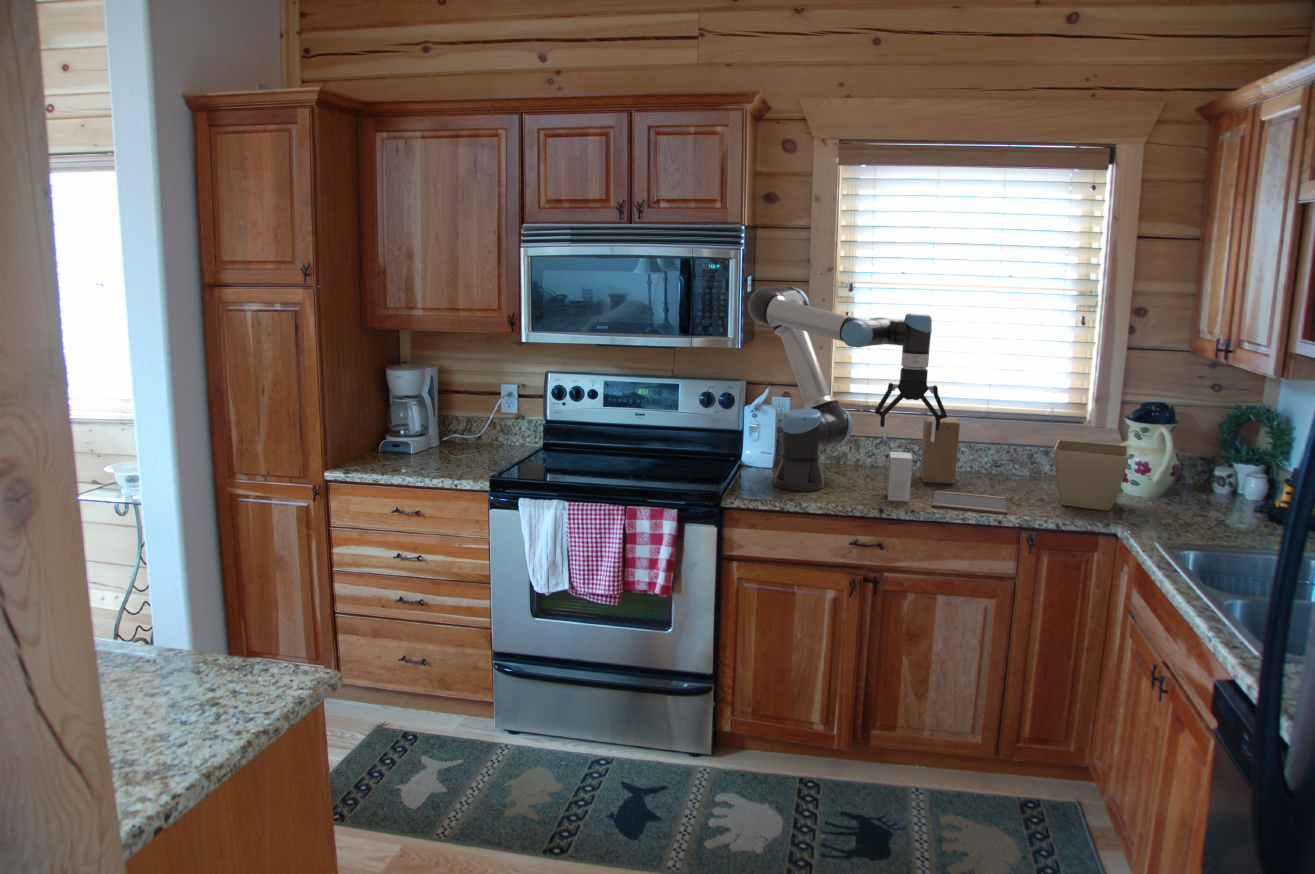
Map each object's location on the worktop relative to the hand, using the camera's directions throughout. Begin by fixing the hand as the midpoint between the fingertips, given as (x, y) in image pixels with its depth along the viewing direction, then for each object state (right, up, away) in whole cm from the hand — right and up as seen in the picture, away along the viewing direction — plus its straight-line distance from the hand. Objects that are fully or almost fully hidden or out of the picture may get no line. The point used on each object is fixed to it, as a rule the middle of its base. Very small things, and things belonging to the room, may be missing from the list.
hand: (908, 439), depth 261 cm
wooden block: (+16, -13, +24) cm, 31 cm away
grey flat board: (+17, -18, -4) cm, 25 cm away
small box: (-3, -17, +2) cm, 18 cm away
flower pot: (+51, -19, -2) cm, 55 cm away
